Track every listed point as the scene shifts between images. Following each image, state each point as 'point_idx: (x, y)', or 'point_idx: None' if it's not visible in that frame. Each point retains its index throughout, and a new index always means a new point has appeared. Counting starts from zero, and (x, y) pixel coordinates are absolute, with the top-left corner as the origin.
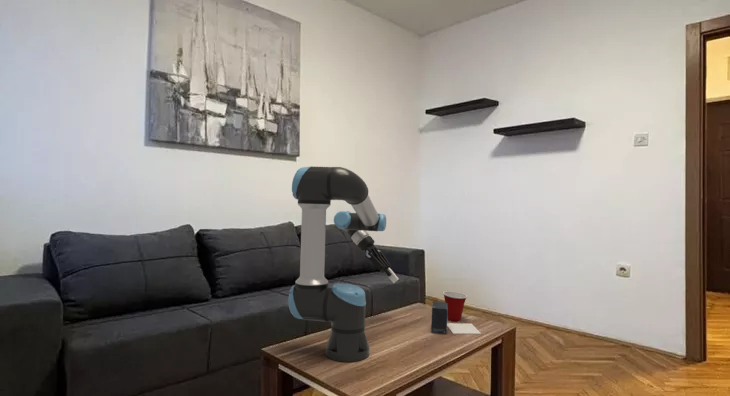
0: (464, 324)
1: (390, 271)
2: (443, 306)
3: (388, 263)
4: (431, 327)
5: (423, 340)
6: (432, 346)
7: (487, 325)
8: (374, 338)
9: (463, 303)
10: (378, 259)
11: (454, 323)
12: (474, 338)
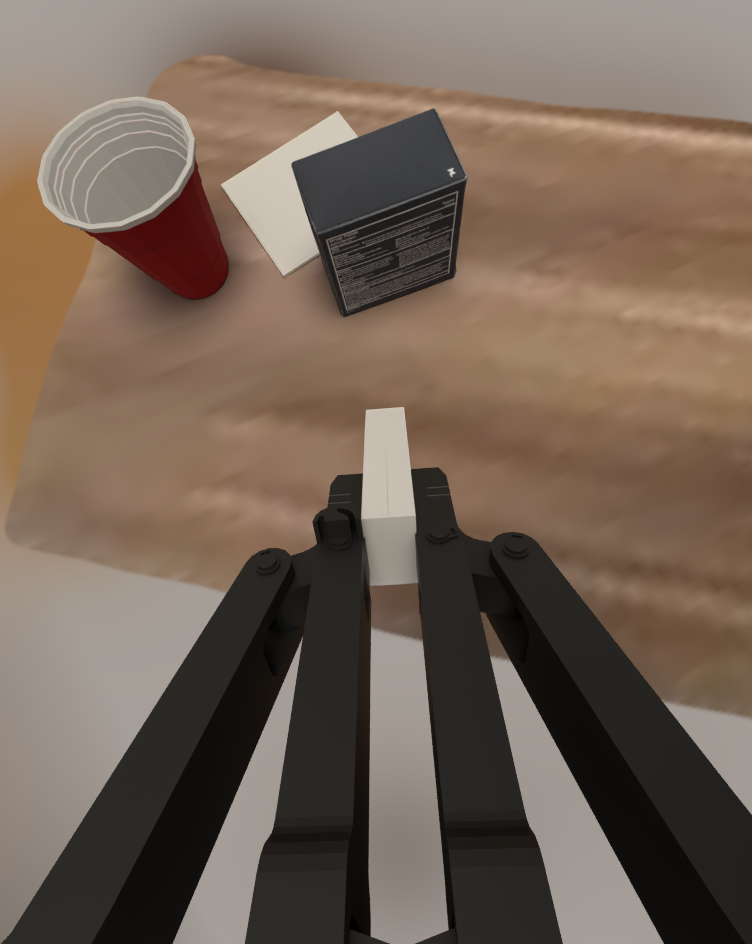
0: (252, 203)
1: (410, 483)
2: (399, 139)
3: (268, 586)
4: (455, 259)
5: (571, 262)
6: (615, 204)
7: (200, 132)
8: (705, 451)
9: (157, 150)
10: (506, 741)
11: (262, 243)
12: (407, 116)
